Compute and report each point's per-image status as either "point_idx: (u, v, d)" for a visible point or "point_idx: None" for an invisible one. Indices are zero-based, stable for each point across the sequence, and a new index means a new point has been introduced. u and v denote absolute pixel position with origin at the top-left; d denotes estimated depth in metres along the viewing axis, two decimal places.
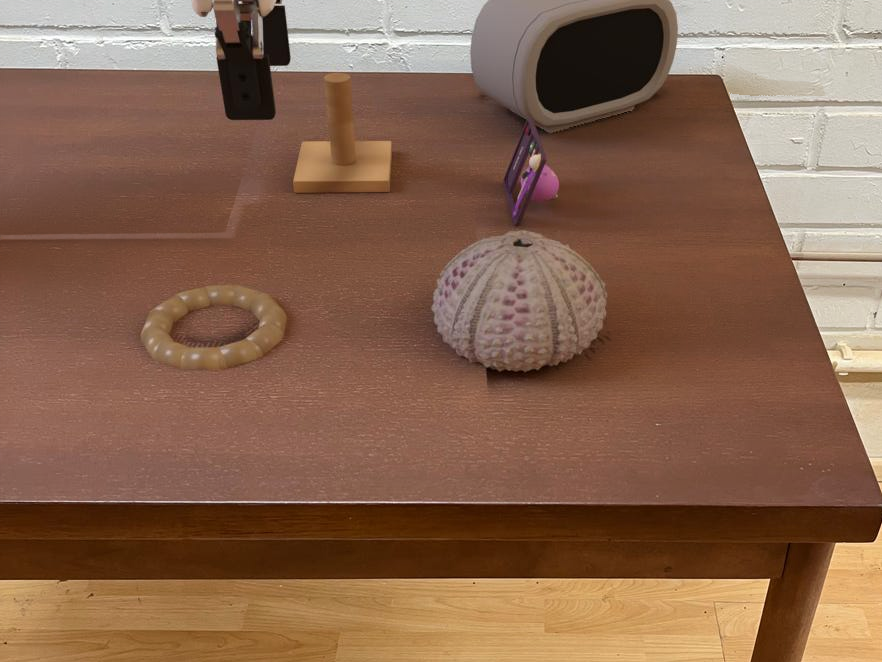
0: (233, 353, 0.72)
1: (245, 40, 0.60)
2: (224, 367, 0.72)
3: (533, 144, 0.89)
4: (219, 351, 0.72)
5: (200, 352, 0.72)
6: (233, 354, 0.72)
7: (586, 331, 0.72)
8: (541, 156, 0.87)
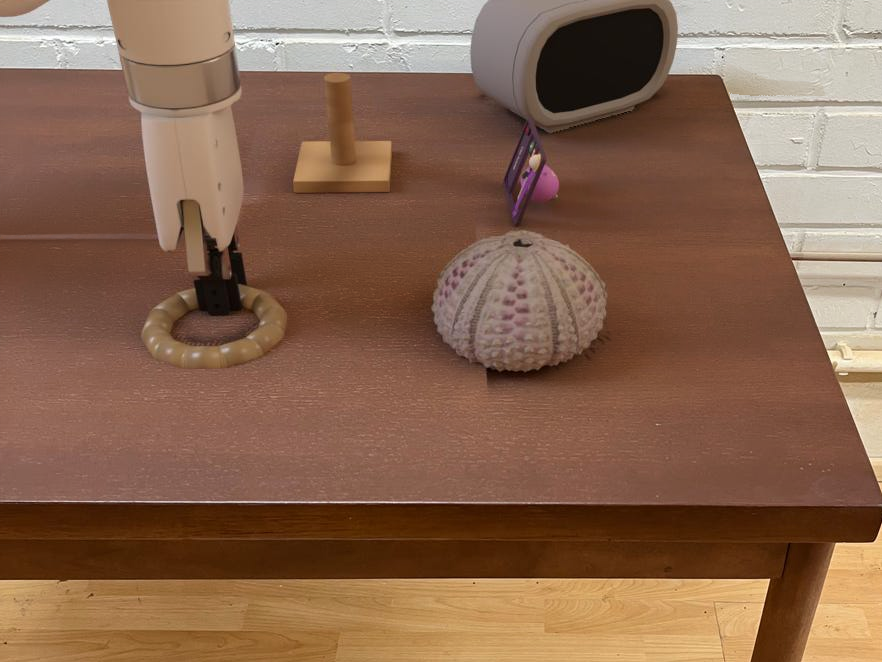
0: (234, 352, 0.73)
1: (215, 271, 0.73)
2: (225, 366, 0.72)
3: (533, 144, 0.89)
4: (220, 349, 0.73)
5: (201, 351, 0.72)
6: (234, 353, 0.73)
7: (586, 331, 0.72)
8: (541, 156, 0.87)
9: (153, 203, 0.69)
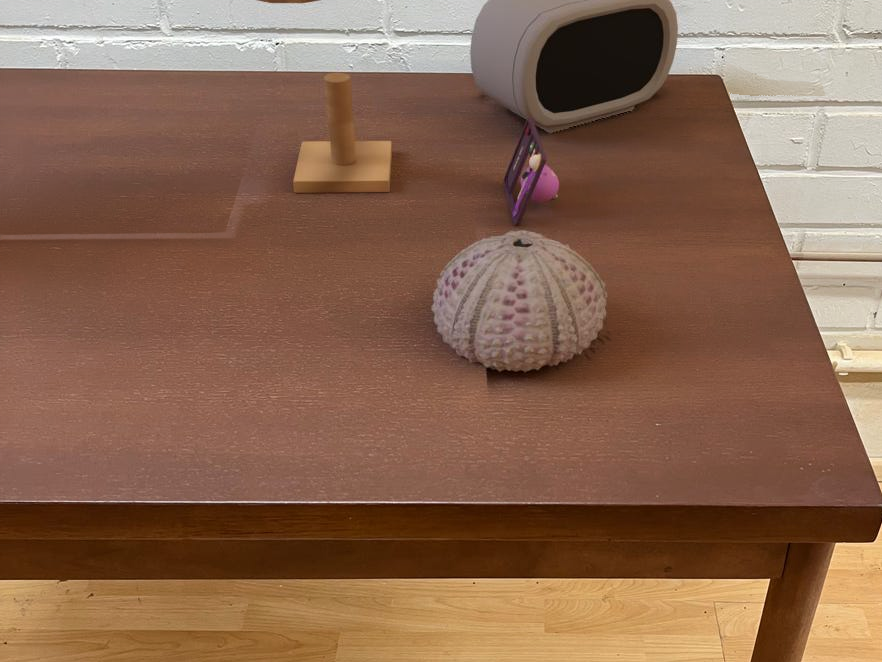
0: None
1: None
2: None
3: (533, 144, 0.89)
4: None
5: None
6: None
7: (586, 331, 0.72)
8: (541, 156, 0.87)
9: None
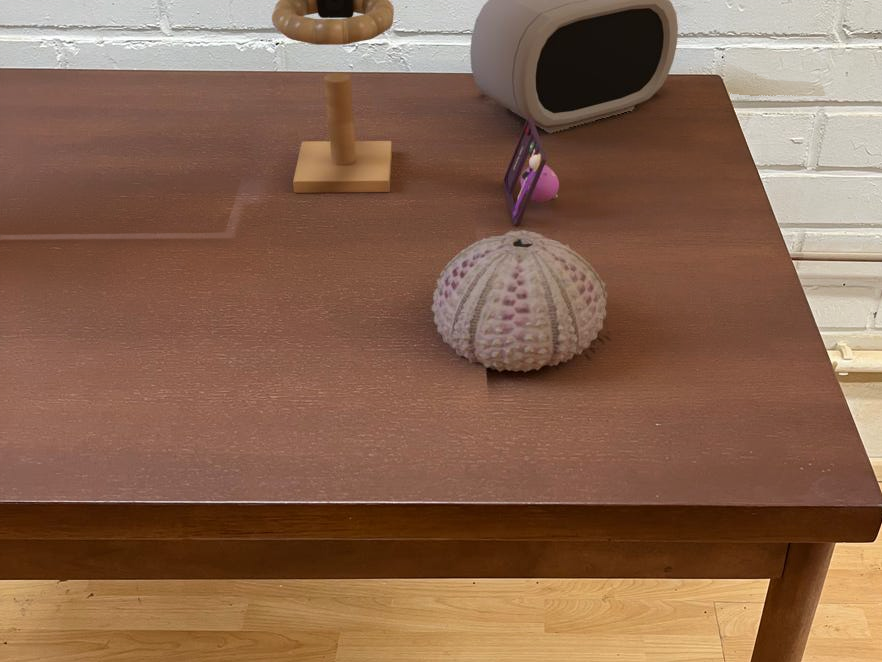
0: (353, 23, 0.85)
1: None
2: (346, 34, 0.85)
3: (533, 144, 0.89)
4: (342, 21, 0.85)
5: (326, 21, 0.85)
6: (353, 24, 0.85)
7: (586, 331, 0.72)
8: (541, 156, 0.87)
9: None
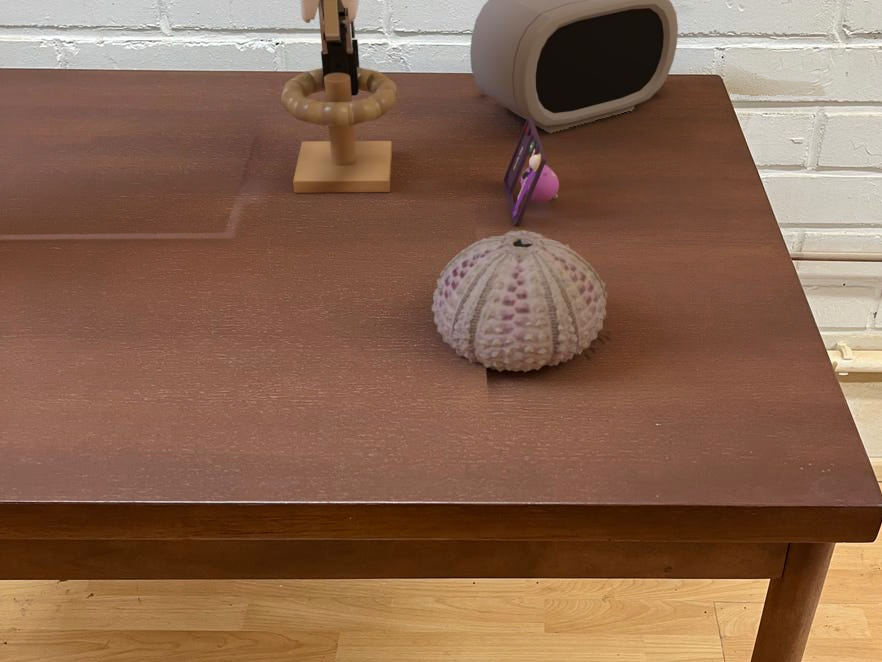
0: (359, 106, 0.90)
1: (343, 41, 0.91)
2: (352, 117, 0.90)
3: (533, 144, 0.89)
4: (348, 104, 0.90)
5: (333, 104, 0.90)
6: (359, 107, 0.90)
7: (586, 331, 0.72)
8: (541, 156, 0.87)
9: None
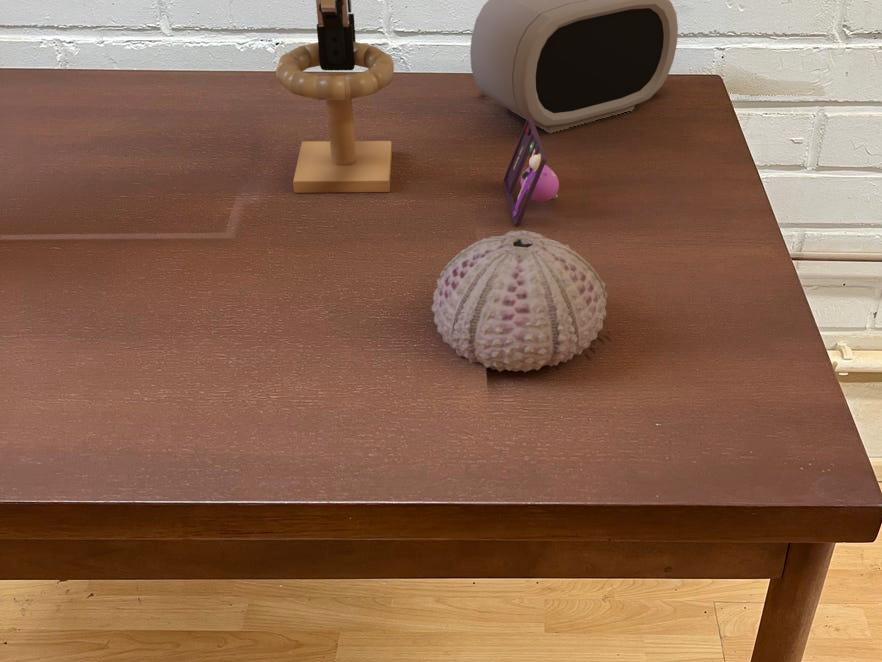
0: (355, 80, 0.89)
1: (339, 13, 0.89)
2: (348, 91, 0.88)
3: (533, 144, 0.89)
4: (344, 77, 0.88)
5: (329, 78, 0.88)
6: (355, 80, 0.88)
7: (586, 331, 0.72)
8: (541, 156, 0.87)
9: None
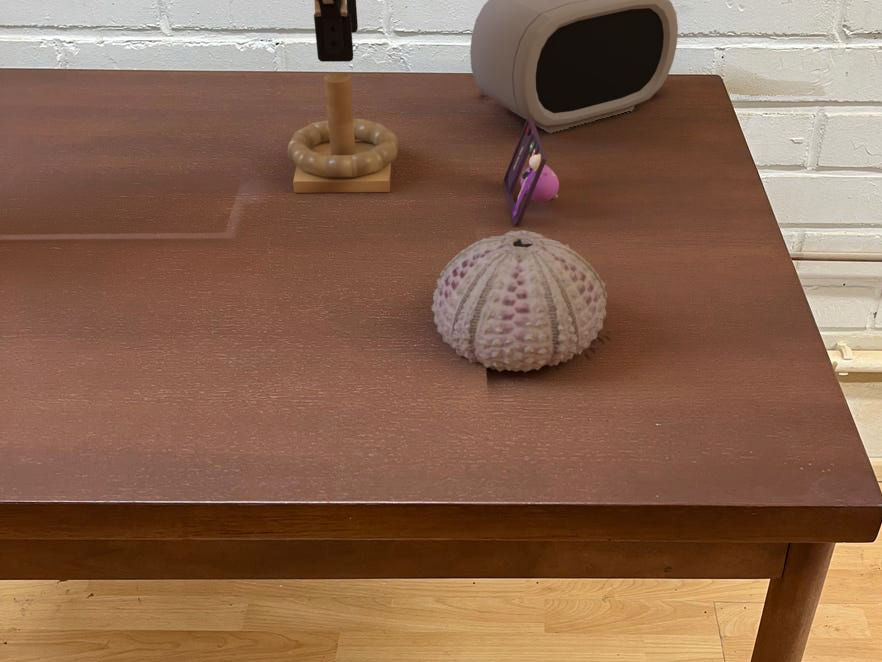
0: (362, 159, 0.94)
1: (337, 2, 0.86)
2: (355, 169, 0.94)
3: (533, 144, 0.89)
4: (351, 157, 0.94)
5: (337, 157, 0.94)
6: (362, 160, 0.94)
7: (586, 331, 0.72)
8: (541, 156, 0.87)
9: None
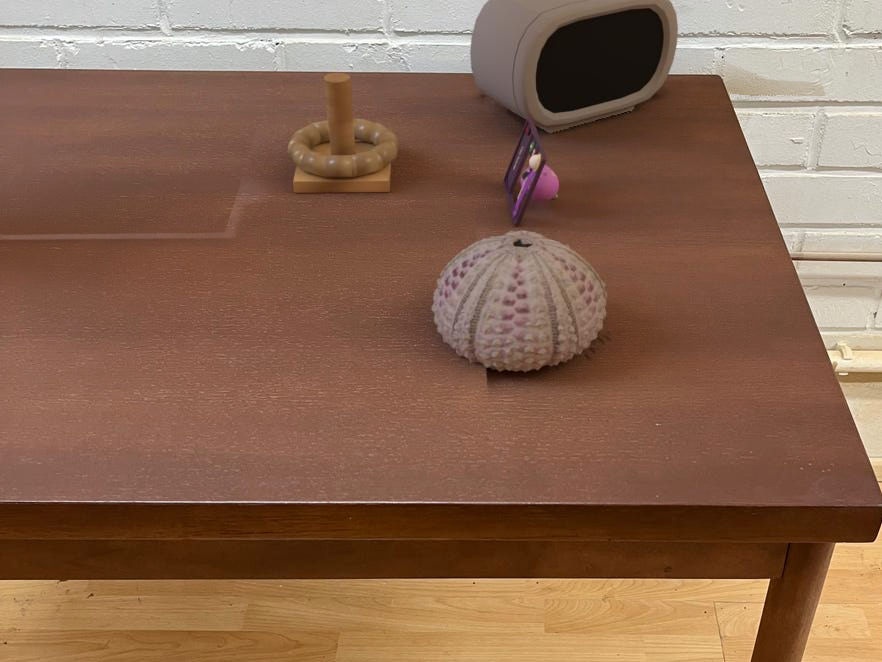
0: (362, 159, 0.94)
1: None
2: (355, 169, 0.94)
3: (533, 144, 0.89)
4: (351, 157, 0.94)
5: (337, 157, 0.94)
6: (362, 160, 0.94)
7: (586, 331, 0.72)
8: (541, 156, 0.87)
9: None
